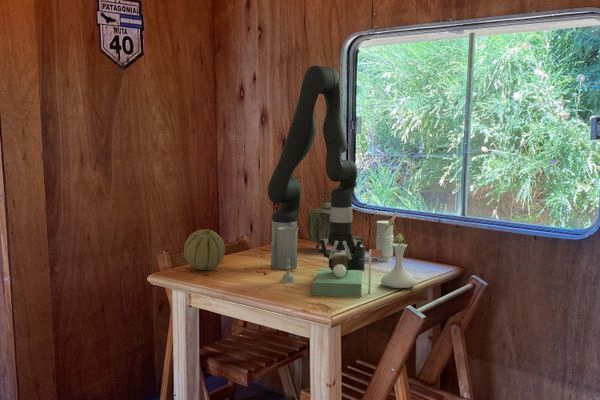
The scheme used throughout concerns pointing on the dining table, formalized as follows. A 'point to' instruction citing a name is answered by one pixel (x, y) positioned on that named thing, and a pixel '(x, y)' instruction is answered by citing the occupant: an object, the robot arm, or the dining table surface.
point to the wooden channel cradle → (340, 261)
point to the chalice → (288, 249)
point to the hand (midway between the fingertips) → (340, 269)
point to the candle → (384, 241)
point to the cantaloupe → (204, 249)
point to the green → (337, 283)
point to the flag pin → (371, 254)
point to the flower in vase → (397, 264)
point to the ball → (339, 270)
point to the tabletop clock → (319, 222)
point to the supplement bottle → (360, 260)
